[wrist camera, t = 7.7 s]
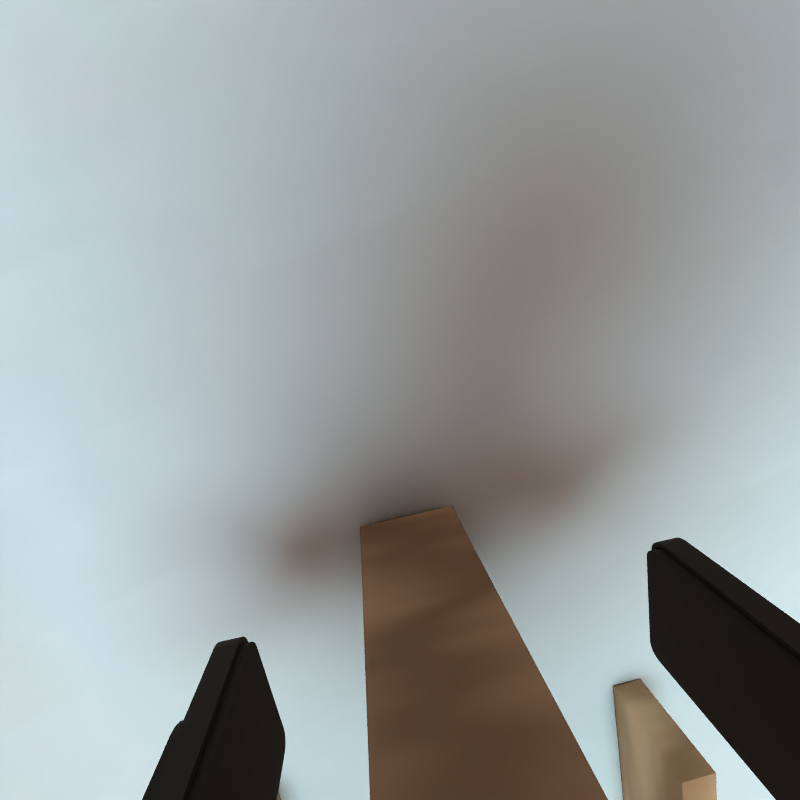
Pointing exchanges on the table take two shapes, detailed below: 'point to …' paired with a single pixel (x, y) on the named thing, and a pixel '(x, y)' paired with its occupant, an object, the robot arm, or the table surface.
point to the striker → (454, 677)
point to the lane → (656, 751)
